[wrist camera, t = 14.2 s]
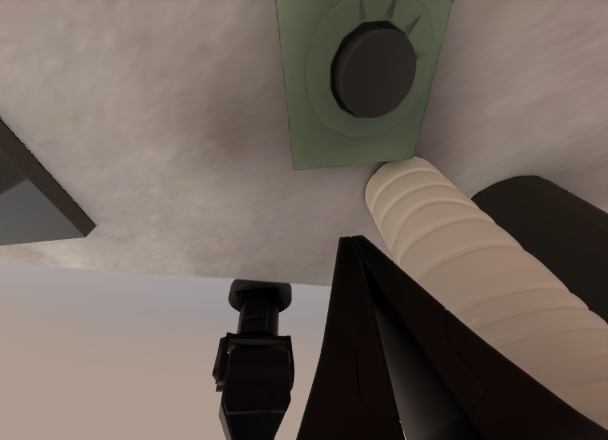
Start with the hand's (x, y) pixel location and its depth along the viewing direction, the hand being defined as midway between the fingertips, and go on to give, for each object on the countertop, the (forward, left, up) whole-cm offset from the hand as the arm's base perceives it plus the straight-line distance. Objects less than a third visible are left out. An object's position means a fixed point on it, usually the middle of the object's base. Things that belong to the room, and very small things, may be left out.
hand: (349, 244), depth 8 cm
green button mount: (+4, -3, -12) cm, 13 cm away
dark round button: (+4, -3, -8) cm, 10 cm away
